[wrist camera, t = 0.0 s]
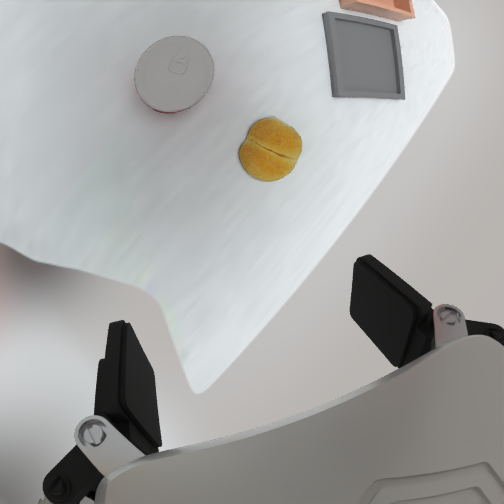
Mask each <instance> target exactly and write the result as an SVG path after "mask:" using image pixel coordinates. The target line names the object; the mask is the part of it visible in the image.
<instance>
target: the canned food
mask: <svg viewBox="0 0 504 504" xmlns="http://www.w3.org/2000/svg"><path fill="white" fill-rule="evenodd" d="M213 76H214V63H213V60H212V57H211V55H210V53H209V51H208V50H207V48H206V47H205V46H204V45H203V44H201V43H200V42H198V41H197V40H195V39H192V38H190V37H185V36H172V37H167V38H164V39H162V40H159V41H157V42H156V43H154V44H152V45H151V46H150V47H149V48H148V49H147V50H146V51H145V52H144V53H143V55H142V56H141V58H140V59H139V61H138V63H137V66H136V70H135V78H134V79H135V87H136V89H137V92H138V94H139V96H140V98H141V99H142V100H143V101H144V102H145V103H146V104H147V105H148V106H149V107H151V108H152V109H154V110H155V111H158V112H161V113H176V112H180V111H182V110H185V109H187V108H190V107H191V106H193V105H194V104H196V103H197V102H198V101H199V100H201V99H202V98H203V96H204V95H205V94H206V93H207V91H208V89H209V88H210V86H211V83H212V80H213Z"/></svg>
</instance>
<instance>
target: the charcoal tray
mask: <svg viewBox="0 0 504 504" xmlns="http://www.w3.org/2000/svg"><path fill="white" fill-rule="evenodd" d="M322 17H323V23H324V30H325V36H326V43H327V51H328V59H329V67H330V76H331V86H332V97H369V98H388V99H402V100H405V90H404V77H403V66H402V57H401V49H400V42H399V35H398V29H397V25H393V24H389V23H386V22H381V21H377V20H373V19H368V18H363V17H358V16H353V15H348V14H342V13H335V12H326V13H324V14H322Z"/></svg>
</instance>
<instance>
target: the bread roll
mask: <svg viewBox="0 0 504 504" xmlns="http://www.w3.org/2000/svg"><path fill="white" fill-rule="evenodd" d="M301 151H302V140H301V137H300V136H299V135H298V133H297V132H296V131H295V130H294V128H292V127H291V126H289V125H287V124H286V123H284V122H283V121H281V120H279V119H277V118H276V117H269V118H265V119H261V120H259V121H258V122H257V123H256V124H254V125H253V126H252V128H251V129H250V131H249V133H248V136H247V138H246V140H245V142H244V143H243V144H242V146H241V148H240V151H239V156H240V160H241V163H242V165H243V167H244V168H245V170H246V171H247V172H248V174H249V175H250V176H252V177H253V178H255V179H258V180H260V181H265V182H270V181H275V180H279V179H281V178H283V177H284V176H286V175H288V174H289V173H290V172H291V171H292V170H293V168H294V167H295V165H296V163H297V160H298V158H299V156H300V154H301Z"/></svg>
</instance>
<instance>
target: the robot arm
mask: <svg viewBox="0 0 504 504" xmlns="http://www.w3.org/2000/svg"><path fill="white" fill-rule="evenodd" d="M431 306H432V303H430V302H429V301H428V300H427V299H426V298H424V297H423V296H422V295H421V294H420V293H418V292H417V291H416V290H415V289H414V288H412V287H411V286H410V285H409V284H407V283H406V282H405V281H404V280H402V279H401V278H400V277H399V276H397V275H396V274H395V273H394V272H392V271H391V270H390V269H389V268H387V267H386V266H385V265H384V264H382V263H381V262H380V261H378V260H377V259H376V258H374V257H373V256H372V255H365V256H362V257H359V258H357V260H356V262H355V263H354V268H353V282H352V293H351V303H350V315H351V317H352V318H353V320H354V321H355V322H356V323H357V324H358V325H359V326H360V328H361V329H362V330H363V331H364V332H365V333H366V335H367V336H368V337H369V338H370V339H371V340H372V342H373V343H374V344H375V345H376V346H377V347H378V349H379V350H380V351H381V352H382V353H383V354H384V355H385V357H386V358H387V359H388V360H389V361H390V363H391V364H392V365H393V366H395V367H398V368H399V369H397V370H396V371H394V372H392V373H390V374H388V375H386V376H384V377H382V378H380V379H378V380H376V381H374V382H372V383H370V384H368V385H366V386H364V387H361V388H360V389H357V390H355V391H353V392H351V393H348V394H346V395H344V396H342V397H339V398H337V399H335V400H332V401H330V402H328V403H325V404H323V405H320V406H318V407H315V408H313V409H310V410H307V411H305V412H302V413H300V414H297V415H294V416H291V417H288V418H285V419H283V420H280V421H277V422H274V423H271V424H268V425H265V426H262V427H258V428H255V429H251V430H248V431H245V432H241V433H238V434H234V435H230V436H227V437H222V438H219V439H214V440H210V441H207V442H202V443H198V444H194V445H189V446H184V447H179V448H175V449H171V450H167V451H162V452H159V450H158V447H161V446H162V440H161V433H160V425H159V416H158V407H157V396H156V386H155V375H154V371H153V368H152V366H151V364H150V362H149V361H148V359H147V357H146V355H145V353H144V351H143V349H142V347H141V345H140V343H139V341H138V339H137V337H136V334H135V332H134V330H133V328H132V326H131V324H130V323H125V321H124V320H121V321H116V322H112V323H110V324H109V329H108V337H107V345H106V353H105V359H101V360H100V361H99V364H98V373H97V383H96V394H95V408H94V415H93V416H89V417H86V418H85V419H83V420H81V422H79V424H78V425H77V427H76V429H75V433H74V438H75V442H76V444H77V445H76V446H75V447H74V448H73V449H72V450H71V451H70V452H69V453H68V454H67V455H66V456H65V457H64V458H63V459H62V460H61V461H60V462H59V463H58V464H57V465H56V466H55V467H54V468H53V469H52V470H51V471H50V472H49V473H48V474H47V475H46V477H45V478H44V482H43V492H44V494H45V497H44V499H43V500H42V499H40V500H39V502H38V504H504V329H503V328H502V327H500V326H499V325H496V324H492V323H485V322H478V321H471V320H465V317H464V315H463V313H462V311H461V310H460V309H458V308H457V307H455V306H453V305H449V304H442V305H439V306H437V307H436V308H435V309H434V310H433V309H432V308H431Z"/></svg>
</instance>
